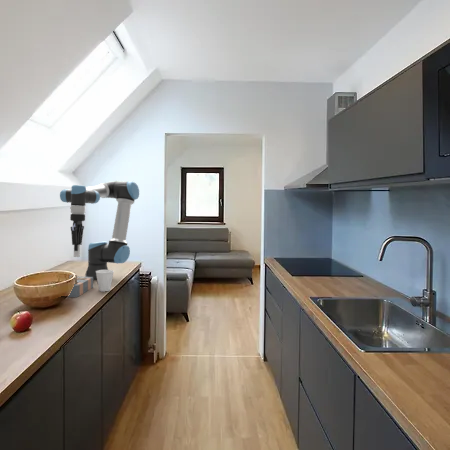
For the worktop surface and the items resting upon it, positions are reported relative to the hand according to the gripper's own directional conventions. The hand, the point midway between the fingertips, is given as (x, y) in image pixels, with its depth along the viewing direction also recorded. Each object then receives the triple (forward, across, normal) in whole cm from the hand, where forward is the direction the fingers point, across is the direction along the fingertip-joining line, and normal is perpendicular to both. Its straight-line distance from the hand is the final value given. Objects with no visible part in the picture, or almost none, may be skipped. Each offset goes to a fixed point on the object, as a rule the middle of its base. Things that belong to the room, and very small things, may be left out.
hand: (76, 256), depth 221 cm
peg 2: (+19, -7, 0) cm, 20 cm away
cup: (+19, -6, +14) cm, 25 cm away
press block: (+20, -1, 0) cm, 20 cm away
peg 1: (+16, +5, +1) cm, 16 cm away
